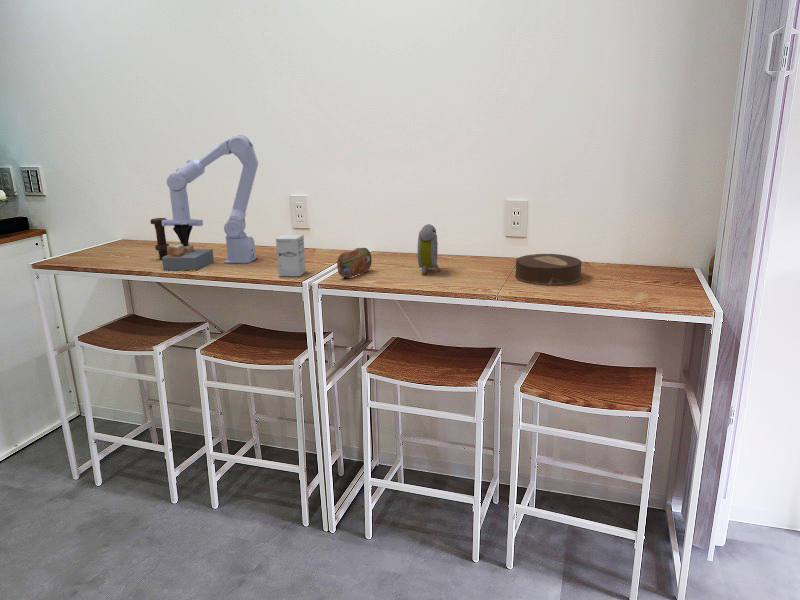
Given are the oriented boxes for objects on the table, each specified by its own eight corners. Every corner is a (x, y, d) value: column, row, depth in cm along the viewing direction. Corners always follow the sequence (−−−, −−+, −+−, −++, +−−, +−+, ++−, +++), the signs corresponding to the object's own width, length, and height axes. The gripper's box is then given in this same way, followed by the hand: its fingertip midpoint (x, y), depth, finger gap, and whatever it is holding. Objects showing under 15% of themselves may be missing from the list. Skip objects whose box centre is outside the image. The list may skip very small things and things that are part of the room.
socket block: (213, 261, 230) (212, 249, 228) (196, 270, 216) (194, 257, 215) (182, 261, 231) (181, 248, 230) (163, 270, 218) (161, 257, 217)
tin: (343, 280, 198) (342, 254, 196) (336, 279, 200) (334, 253, 198) (372, 270, 210) (371, 245, 208) (365, 269, 212) (364, 244, 210)
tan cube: (184, 256, 222) (183, 244, 220) (179, 259, 218) (177, 246, 217) (174, 256, 222) (172, 244, 221) (168, 259, 218) (166, 246, 217)
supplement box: (278, 276, 205) (274, 238, 202) (285, 271, 212) (282, 234, 209) (300, 277, 204) (297, 238, 201) (306, 271, 211) (303, 234, 208)
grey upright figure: (422, 267, 212) (421, 223, 208) (442, 267, 211) (442, 222, 207) (417, 276, 201) (416, 229, 197) (439, 276, 200) (438, 229, 196)
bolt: (167, 260, 233) (162, 220, 229) (154, 261, 233) (148, 220, 229) (173, 257, 238) (168, 217, 234) (160, 257, 239) (154, 217, 234)
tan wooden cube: (194, 256, 229) (193, 244, 227) (189, 259, 225) (187, 247, 224) (184, 256, 229) (182, 244, 228) (178, 259, 225) (177, 246, 224)
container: (502, 274, 201) (503, 255, 199) (553, 267, 209) (555, 249, 207) (540, 290, 184) (541, 269, 182) (594, 282, 191) (596, 262, 189)
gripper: (155, 209, 219) (160, 248, 223) (194, 209, 217) (199, 248, 221) (165, 206, 226) (170, 244, 230) (203, 206, 224) (208, 244, 228)
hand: (185, 245), depth 226 cm, fingers closed, pressing on tan wooden cube
